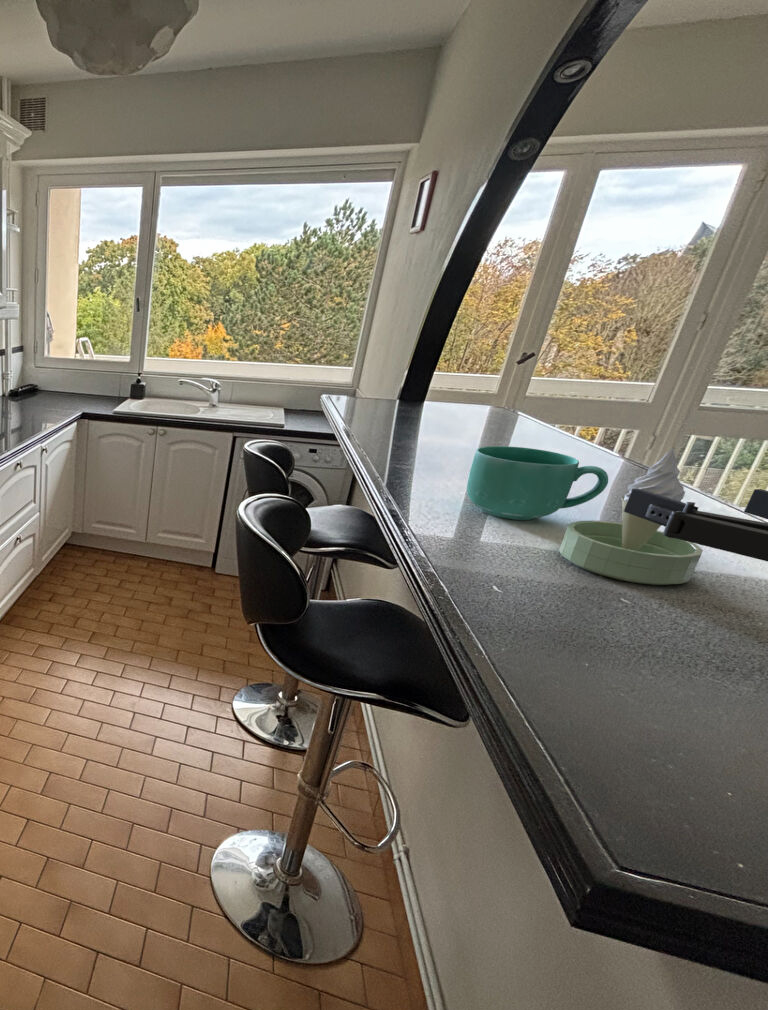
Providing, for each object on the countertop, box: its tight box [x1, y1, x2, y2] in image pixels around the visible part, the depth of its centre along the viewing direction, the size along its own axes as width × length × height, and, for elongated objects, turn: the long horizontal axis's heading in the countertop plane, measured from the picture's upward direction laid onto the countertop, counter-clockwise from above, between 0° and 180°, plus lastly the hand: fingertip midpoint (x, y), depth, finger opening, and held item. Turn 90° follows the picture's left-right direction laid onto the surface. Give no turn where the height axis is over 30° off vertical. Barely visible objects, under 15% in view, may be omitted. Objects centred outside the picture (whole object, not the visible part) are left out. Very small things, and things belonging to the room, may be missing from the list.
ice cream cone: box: [621, 446, 686, 551], centre depth 71 cm, size 5×5×15 cm
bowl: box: [559, 520, 704, 586], centre depth 74 cm, size 12×12×4 cm
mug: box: [466, 445, 609, 521], centre depth 91 cm, size 17×13×10 cm
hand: (691, 500), depth 66 cm, fingers open, 13 cm apart
